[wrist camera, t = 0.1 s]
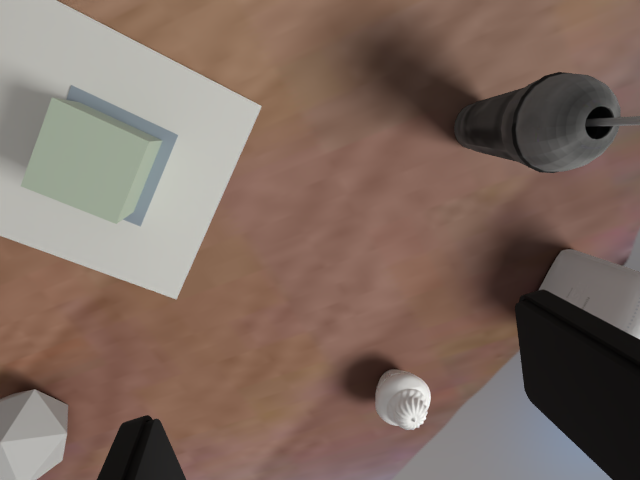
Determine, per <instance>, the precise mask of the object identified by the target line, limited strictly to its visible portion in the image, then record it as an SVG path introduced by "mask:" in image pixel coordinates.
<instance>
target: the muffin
mask: <svg viewBox="0 0 640 480" xmlns="http://www.w3.org/2000/svg"><path fill="white" fill-rule="evenodd" d="M375 396H376V398H375V407H376V411H377V413H378V414H379V416H380V417H381V418H382V419H383V420H384V421H385V422H387V423H389V424H391V425H396V426H399V427H401V428H404V429H406V430H409V429H411V430H414V429H415V428H419V426H420V424H423V421H424V420H426V415H427V409H428V407H429V405H430V398H431V396H430V390H429V388H428V386H427V384H426V383H425V382H424V381H423V380H422V379H421V378H419V377H418V376H416V375H414V374H412V373H410V372H406V371H402V370H397V369H395V370H394V369H392V370H388V371H387V372H385V373H383V375H382V376H381V377H380V380H379V382H378V386H377V389H376V394H375Z"/></svg>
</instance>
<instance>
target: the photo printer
mask: <svg viewBox="0 0 640 480" xmlns="http://www.w3.org/2000/svg"><path fill="white" fill-rule="evenodd" d="M542 289H544V290H547V291H549V292H551V293H553V294H554V295H556V296H558V297H560V298H562V299H564V300H566V301H568V302H570V303H571V304H573V305H575V306H577V307H579V308H581V309H583V310H585V311H587V312H589V313H590V314H592V315H594V316H596V317H598V318H600V319H602V320H604V321H606V322H608V323H609V324H611V325H613V326H615V327H617V328H619V329H621V330H623V331H625V332H626V333H628V334H630V335H632V336H634V337H636V338H638V339H640V272H638V271H635V270H632V269H629V268H626V267H623V266H621V265H618V264H615V263H611V262H609V261H606V260H603V259H600V258H597V257H594V256H591V255H588V254H585V253H582V252H579V251H576V250H572V249H567V250H562V251H561V252H560V253H559V255H558V256H557V257H556V259H555V261H554V263H553V264H552V266H551V268H550V270H549V271H548V273H547V275H546V277H545V279H544V281H543V283H542V284H541V286H540V288H539V290H542Z"/></svg>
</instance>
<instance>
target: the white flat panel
mask: <svg viewBox="0 0 640 480" xmlns="http://www.w3.org/2000/svg"><path fill="white" fill-rule="evenodd" d="M52 97H53V98H59V99H64V100H70V101H75V102H80V103H82V104H84V105H87V106H89V107H91V108H93V109H95V110H98V111H100V112H102V113H104V114H106V115H108V116H111V117H113V118H115V119H117V120H119V121H121V122H124V123H126V124H128V125H130V126H132V127H134V128H137V129H139V130H141V131H143V132H145V133H147V134H150V135H152V136H154V137H156V138H158V139H160V140H163V141H162V143H161V146H160V148H159V151H158V153H157V156H156V158H155V161H154V163H153V166H152V168H151V170H150V173H149V175H148V178H147V180H146V183H145V185H144V188H143V190H142V193H141V195H140V197H139V200H138V202H137V205H136V207H135V210H134V212H133V213H132V214H130V215H129V216H127V217H126V218H124V219H123V220H121V221H120V222H118V223H117V224H115V223H112V222H110V221H107V220H105V219H102V218H100V217H97V216H95V215H92V214H90V213H87V212H85V211H82V210H80V209H77V208H74V207H72V206H69V205H67V204H64V203H62V202H59V201H57V200H54V199H52V198H49V197H47V196H44V195H42V194H39V193H36V192H34V191H31V190H29V189H26V188H24V187H21V184H22V181H23V178H24V175H25V172H26V169H27V167H28V164H29V161H30V158H31V155H32V152H33V150H34V147H35V144H36V141H37V138H38V136H39V133H40V130H41V127H42V124H43V121H44V119H45V116H46V113H47V110H48V107H49V104H50V102H51V99H52ZM261 107H262V106H260V105H258V104H257V103H255V102H253V101H251V100H249V99H247V98H245V97H243V96H241V95H239V94H237V93H235V92H233V91H231V90H229V89H227V88H226V87H224V86H222V85H220V84H218V83H216V82H214V81H212V80H210V79H208V78H206V77H204V76H202V75H200V74H198V73H196V72H194V71H193V70H191V69H189V68H187V67H185V66H183V65H181V64H179V63H177V62H175V61H173V60H171V59H169V58H167V57H165V56H163V55H161V54H160V53H158V52H156V51H154V50H152V49H150V48H148V47H146V46H144V45H142V44H140V43H138V42H136V41H134V40H132V39H130V38H128V37H127V36H125V35H123V34H121V33H119V32H117V31H115V30H113V29H111V28H109V27H107V26H105V25H103V24H101V23H99V22H97V21H95V20H94V19H92V18H90V17H88V16H86V15H84V14H82V13H80V12H78V11H76V10H74V9H72V8H70V7H68V6H66V5H64V4H62V3H61V2H59V1H57V0H0V236H3V237H5V238H8V239H11V240H14V241H16V242H19V243H22V244H25V245H27V246H30V247H33V248H36V249H38V250H41V251H44V252H47V253H50V254H52V255H55V256H58V257H61V258H63V259H66V260H69V261H72V262H74V263H77V264H80V265H83V266H86V267H88V268H91V269H94V270H97V271H99V272H102V273H105V274H108V275H110V276H113V277H116V278H119V279H121V280H124V281H127V282H130V283H133V284H135V285H138V286H141V287H144V288H146V289H149V290H152V291H155V292H157V293H160V294H163V295H166V296H168V297H171V298H174V299H177V297H178V295H179V293H180V290H181V288H182V286H183V283H184V281H185V279H186V277H187V274H188V272H189V270H190V268H191V265H192V263H193V261H194V259H195V256H196V254H197V252H198V250H199V247H200V245H201V243H202V240H203V238H204V236H205V234H206V231H207V229H208V227H209V225H210V222H211V220H212V218H213V216H214V213H215V211H216V209H217V206H218V204H219V202H220V200H221V197H222V195H223V193H224V191H225V188H226V186H227V184H228V182H229V179H230V177H231V175H232V172H233V170H234V168H235V166H236V163H237V161H238V159H239V157H240V154H241V152H242V150H243V148H244V145H245V143H246V141H247V139H248V136H249V134H250V132H251V129H252V127H253V125H254V123H255V120H256V118H257V116H258V114H259V111H260V109H261Z"/></svg>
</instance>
